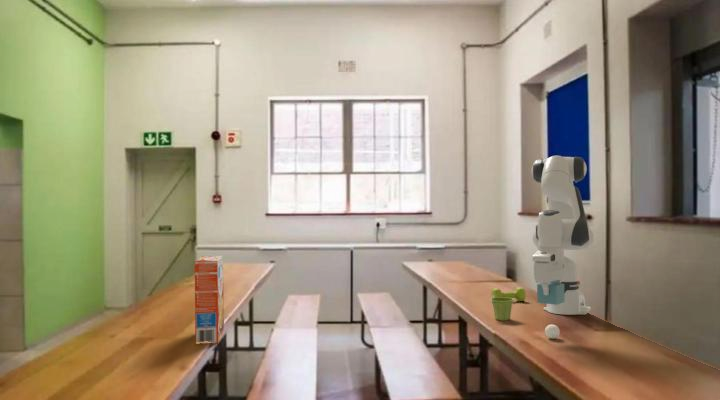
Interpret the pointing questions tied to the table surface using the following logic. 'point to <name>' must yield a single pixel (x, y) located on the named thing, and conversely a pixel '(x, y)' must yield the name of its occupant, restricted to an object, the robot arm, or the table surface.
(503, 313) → the plant pot
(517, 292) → the dumbbell
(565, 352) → the table surface
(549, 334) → the ball
